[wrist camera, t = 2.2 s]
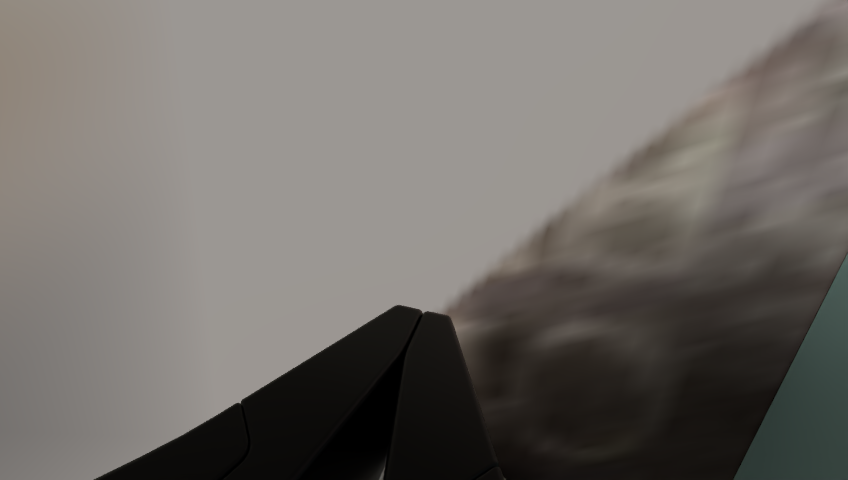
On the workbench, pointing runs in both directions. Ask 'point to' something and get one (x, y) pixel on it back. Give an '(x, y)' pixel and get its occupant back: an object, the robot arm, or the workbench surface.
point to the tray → (809, 404)
